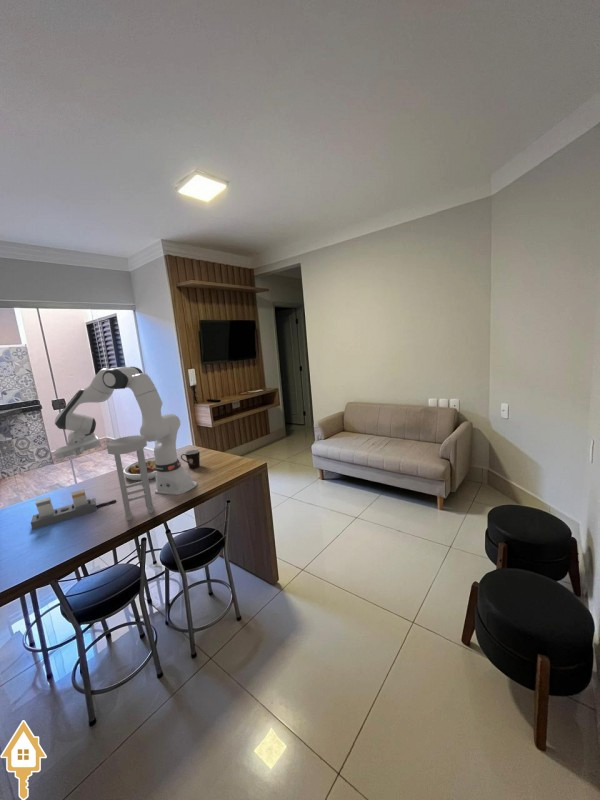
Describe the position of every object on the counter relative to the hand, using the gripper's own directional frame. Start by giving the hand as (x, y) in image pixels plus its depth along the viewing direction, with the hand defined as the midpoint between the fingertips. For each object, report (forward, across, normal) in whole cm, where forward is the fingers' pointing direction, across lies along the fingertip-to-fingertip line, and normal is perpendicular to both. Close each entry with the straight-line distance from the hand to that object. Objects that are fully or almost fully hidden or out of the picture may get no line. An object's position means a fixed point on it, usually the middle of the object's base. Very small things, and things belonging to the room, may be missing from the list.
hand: (78, 453), depth 159 cm
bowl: (-14, +29, +34) cm, 46 cm away
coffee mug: (-2, +51, +35) cm, 62 cm away
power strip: (+17, -8, +22) cm, 29 cm away
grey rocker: (+16, -18, +17) cm, 29 cm away
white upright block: (+16, -5, +19) cm, 25 cm away
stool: (+36, +16, +23) cm, 46 cm away
